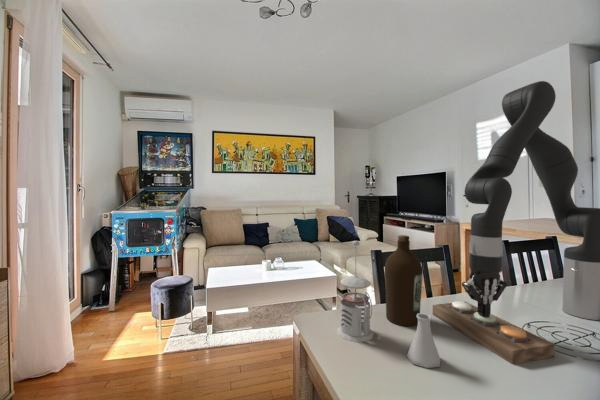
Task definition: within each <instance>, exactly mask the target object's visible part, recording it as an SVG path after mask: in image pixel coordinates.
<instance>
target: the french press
mask: <svg viewBox="0 0 600 400" xmlns="http://www.w3.org/2000/svg"><path fill="white" fill-rule="evenodd" d="M352 246H354V247H355V249H354V250H355V251H354V254H355V257H354V259H355V260H354V262H355V263H354V265H355V268H354V269H355V270H354V271H355V272H354V275H349V276H346V277H343V279H341V280H340V284H341V286H343V287H345V288H348V289H354V291H353V292H345V293H343V294H342V296H341V298H342V299H341V301H340V310H341V311H340V326H339V327H338V328H337V330H336V332H337V334H338V336H339V337H340V338H342V339H343V340H346V341H349V342H355V343H360V342H361V343H364V342H368V341H370V340H373V338H374V332H373V330H372V329H371V318H372V315H373V304H372V300H371V297H370V295H369V293H368V292H367V291H366V292H365V294H364V293H362V292H357V290H359V289H361V290H362V289H367V288H369V287H370V286H371V285H372V282H370V281H371V280H370V281H369V280H368V279H367V278H366V277H363V276H359V275H357V246H360V241H359V240H353V241H352ZM357 306H358V307H357Z"/></svg>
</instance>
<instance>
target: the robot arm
mask: <svg viewBox="0 0 600 400" xmlns="http://www.w3.org/2000/svg"><path fill="white" fill-rule="evenodd" d="M555 91H556V90H555V88H554V86H553V85H552V84H551V83H550V82H548V81H547V80H546V81H545V80H540V81H535V82H533V83H530V84H527V85H525V86H522V87H520V88H516V89H514V90H512V91H510V92H508V93H506V94H504V96H503V97H502V99H501V100H502V101H501V107H502V111H503V114H504V116H505V119H506V120H507V122H508V123H509V124H510V127H509V128H508V129H507V130H506V131H505V132H504V133H503V134H501V136H500V137H499V138H498V139H497V140H496V141H495V143H494V144H493V146H491V148H490V151H489V153H488V155H487V157H486V158H485V161H484V163H483V164H482V165H481V166H480V167H479V168H478V169H477V170H476V171H475V172H474V173H473V175H472V176H470V178H469V179H468V181H467V183H466V185H465V187H464V197H465V199H466V201H468V203H470V204H475V205H487V208H486V210H485V211H484V212H479V213H478V212H477V213H474V214H473V215H472V216H471V219H470V237H469V238H470V239H469V246H468V247H469V251H468V268H469V269H470V274H469V279H468V280H467V281H466V282H465V281H462V283H461V286H462V288H463V290H464V291H465V292H466V293H467V295H468V296H469V297H470V299H471V300H473V301H475V302H477V307H478V310H477V312H478V314H479V315H480V316H482V317H484V318H485V317H490V314H492V313H491V311H492V310H491V309H492V308H491V306H492V304H493V302H494V301H496V302H497V301H498V300H499V299H500V297H501V296H502V295H503V292H504V291H505V290H506V288H507V286H508V282H507V281H504V280H503V279H501V275H500V273H502V272H503V260H504V259H503V255H504V252H503V250H504V245H503V221H504V219H505V218H504V217H505V216H506V213H507V210H508V207H509V205H510V201H511V198H512V194H513V190H512V186H511V183H510V182H509V181H508V180H507V179H506V178H508V177H510V176H511V175H512V174H513V173H514V171H515V168H516V167H517V164H518V162H519V160H520V158H521V155H522V154H523V152H524V149H525V151H526V155H528V157H529V159H530V162H531V165H532V167H533V170H534V171H535V173H536V175H537V177H538V179H539V180H540V182H541V184H542V186H543V189H544V191H545V193H546V196H547V198H548V200H549V204H550V206H551V209H552V213H553V215H554V218H555V221H556V223H557V225H558V228H559V230H560V231H561V232H562V233H564V234H565V235H568V236H573V237H578V238H579V237H581V238H583V240H582V243H581V244H578V245H576V246H569V247H565V248H564V250H563V281H562V311H563V312H565V313H567V314H569V315H570V316H573V317H577V318H582V319H587V320H591V321H600V208H599V207H585V206H584V207H581V206H577V205H576V204H575V202H574V200H573V197H572V189H573V187H574V184H575V182H576V180H577V177H578V173H579V167H578V164H577V162H576V160H575V158H574V155H573V154H572V152H571V150H570V148H569V147H568V146H567V145H566V144H564V143H563V142H562V141H559V140H558V139H556V138H555V137H553V136H552V135H549V134H548V133H546V132H545V131H543V130H542V129H541V128H540V126H541V125H542V123H543V121H544V120H545V119H546V117H547V116H548V115H549V113H550V112H551V111H552V109H553V107H554V105H555V102H556V98H557V97H556V92H555Z"/></svg>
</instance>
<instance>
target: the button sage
mask: <svg viewBox="0 0 600 400" xmlns="http://www.w3.org/2000/svg"><path fill="white" fill-rule="evenodd" d="M491 314H492V313H490V317H485V318H484V317H482V316H480V315H479V314H478V312H476V313H474V316H473V319H472V320H473V321H475V322H477V323H479V324H480V325H482V326H484V327H489V326H497V323H498V322H497V321H496V317H495V316H496V315H495V316H493V315H494V314H492V315H491Z"/></svg>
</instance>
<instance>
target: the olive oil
mask: <svg viewBox="0 0 600 400" xmlns="http://www.w3.org/2000/svg"><path fill="white" fill-rule="evenodd" d="M397 238H398V239H397V248H396V249H395V250H394V251H393V252H392V253H391V254H390V255H389V256H388V257H387V258H386V260H385V264H384V282H385V284H384V285H385V287H384V288H385V316H386V319H387V320H388V321H389V322H390V323H392V324H394V325H398V326H400V327H414V326H418V318H417V314H419V313H421V301H422V286H423V275H424V274H423V272H424V271H423V266H422V263H421V260H420V259H419V257H417V256H416V254H414V252H413V251H412V250H411V249H410V243H411V241H410V236H409V235H403V234H400V235H397Z"/></svg>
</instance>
